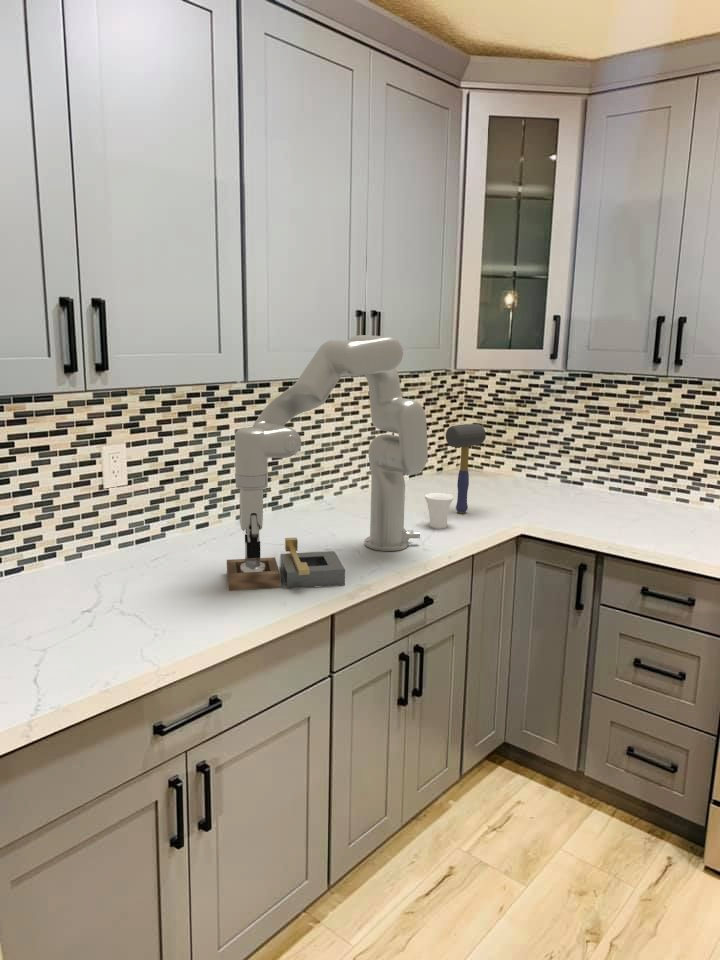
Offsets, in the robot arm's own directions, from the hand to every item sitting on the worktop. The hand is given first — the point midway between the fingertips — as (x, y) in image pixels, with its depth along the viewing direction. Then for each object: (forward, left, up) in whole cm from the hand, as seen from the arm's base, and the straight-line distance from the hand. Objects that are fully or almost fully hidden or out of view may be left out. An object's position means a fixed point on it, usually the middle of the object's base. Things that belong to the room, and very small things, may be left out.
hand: (252, 553), depth 173 cm
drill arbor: (0, 0, -7) cm, 7 cm away
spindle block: (-14, 0, -7) cm, 16 cm away
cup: (-60, -38, -7) cm, 72 cm away
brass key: (-11, 0, -3) cm, 11 cm away
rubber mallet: (-73, -52, -7) cm, 90 cm away
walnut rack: (0, 0, -7) cm, 7 cm away
